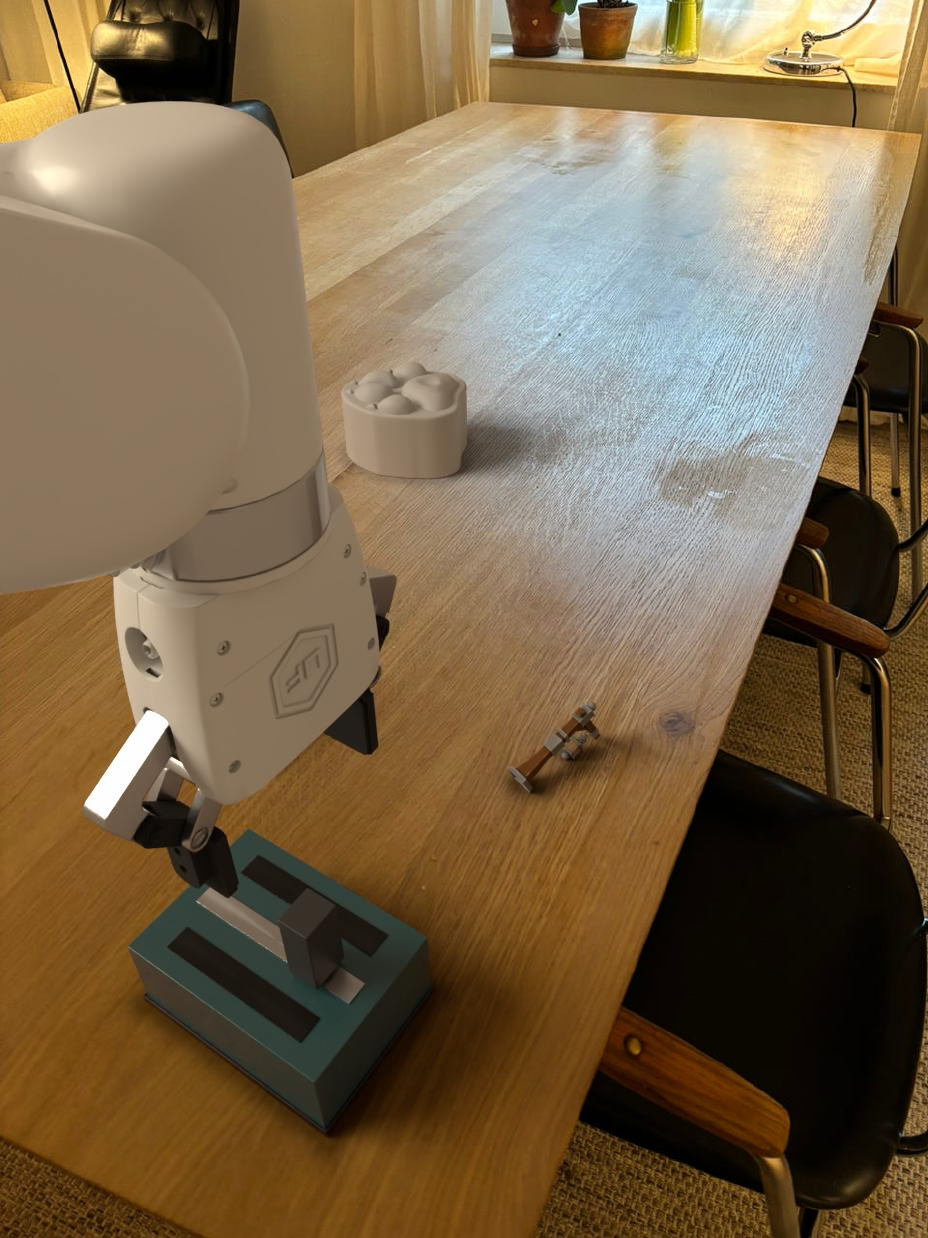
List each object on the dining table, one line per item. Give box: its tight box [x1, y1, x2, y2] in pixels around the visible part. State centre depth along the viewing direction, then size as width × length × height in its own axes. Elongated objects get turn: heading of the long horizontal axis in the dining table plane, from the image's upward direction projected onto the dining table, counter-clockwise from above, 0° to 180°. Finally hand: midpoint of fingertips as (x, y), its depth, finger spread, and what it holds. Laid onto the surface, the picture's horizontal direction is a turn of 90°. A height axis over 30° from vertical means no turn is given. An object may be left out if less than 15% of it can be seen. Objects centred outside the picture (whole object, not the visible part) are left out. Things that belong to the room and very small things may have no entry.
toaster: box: [127, 828, 437, 1138], centre depth 59 cm, size 10×14×6 cm
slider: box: [278, 888, 344, 990], centre depth 53 cm, size 2×2×5 cm
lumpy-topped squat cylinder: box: [340, 361, 468, 480], centre depth 106 cm, size 10×13×9 cm
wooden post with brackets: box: [506, 701, 602, 793], centre depth 74 cm, size 2×8×4 cm, turn 127°
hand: (284, 805), depth 46 cm, fingers open, 9 cm apart
